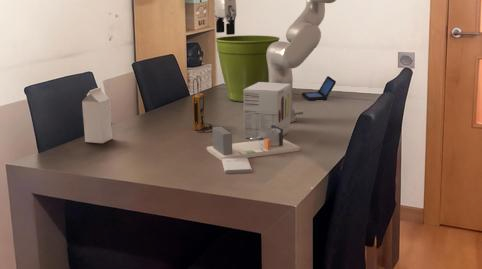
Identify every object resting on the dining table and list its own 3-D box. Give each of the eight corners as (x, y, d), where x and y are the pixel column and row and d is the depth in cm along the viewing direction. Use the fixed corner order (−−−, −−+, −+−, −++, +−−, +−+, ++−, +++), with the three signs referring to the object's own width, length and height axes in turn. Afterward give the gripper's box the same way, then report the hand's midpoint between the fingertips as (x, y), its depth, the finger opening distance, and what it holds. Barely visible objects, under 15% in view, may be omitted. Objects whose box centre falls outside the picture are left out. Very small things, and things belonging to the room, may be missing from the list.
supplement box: (278, 141, 224) (278, 91, 220) (243, 138, 229) (242, 89, 224) (291, 130, 240) (291, 82, 236) (258, 127, 245) (258, 81, 240)
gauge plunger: (273, 140, 220) (273, 125, 218) (286, 147, 211) (286, 131, 209) (246, 144, 216) (245, 128, 214) (257, 151, 207) (257, 134, 206)
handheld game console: (301, 95, 308) (301, 76, 305) (327, 94, 309) (328, 75, 307) (307, 101, 293) (308, 82, 290) (336, 100, 294) (336, 80, 292)
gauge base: (281, 140, 225) (281, 118, 223) (299, 150, 212) (299, 126, 210) (206, 150, 214) (206, 126, 212) (221, 161, 202) (221, 136, 200)
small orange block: (266, 147, 210) (266, 138, 210) (270, 149, 208) (270, 140, 207) (264, 147, 210) (264, 138, 209) (267, 149, 207) (267, 140, 207)
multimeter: (216, 133, 236) (215, 80, 231) (190, 132, 238) (188, 80, 233) (225, 124, 250) (224, 74, 245) (200, 123, 252) (199, 73, 247)
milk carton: (112, 138, 231) (109, 87, 226) (102, 143, 224) (98, 91, 220) (95, 137, 233) (91, 86, 228) (84, 142, 227) (80, 90, 222)
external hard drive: (225, 175, 190) (221, 163, 202) (252, 174, 190) (247, 161, 202) (224, 170, 189) (221, 158, 201) (252, 168, 190) (247, 157, 202)
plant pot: (280, 104, 285) (281, 40, 278) (215, 105, 286) (213, 41, 279) (278, 92, 314) (278, 34, 307) (218, 93, 315) (216, 35, 308)
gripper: (243, -14, 227) (244, 34, 231) (224, -14, 242) (225, 31, 246) (224, -13, 224) (225, 36, 228) (206, -14, 239) (207, 32, 243)
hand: (225, 33), depth 237 cm, fingers open, 9 cm apart
